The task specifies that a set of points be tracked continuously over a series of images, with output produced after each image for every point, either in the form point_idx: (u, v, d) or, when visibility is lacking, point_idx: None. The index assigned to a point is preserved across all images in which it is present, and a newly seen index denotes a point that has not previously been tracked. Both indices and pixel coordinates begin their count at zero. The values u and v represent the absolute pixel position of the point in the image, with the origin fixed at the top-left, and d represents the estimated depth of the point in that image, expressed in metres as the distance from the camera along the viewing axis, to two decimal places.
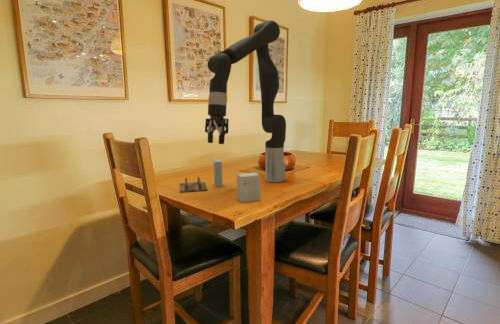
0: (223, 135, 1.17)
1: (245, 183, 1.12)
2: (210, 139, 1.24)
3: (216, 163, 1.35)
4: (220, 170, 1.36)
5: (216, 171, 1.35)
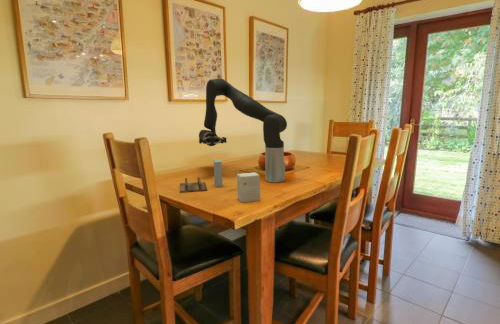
0: (202, 141, 1.49)
1: (245, 183, 1.12)
2: (221, 141, 1.49)
3: (216, 163, 1.35)
4: (220, 170, 1.36)
5: (216, 171, 1.35)
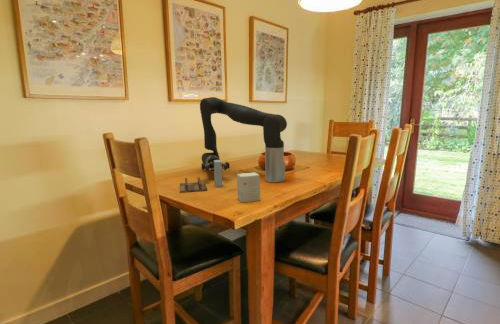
0: (205, 167, 1.45)
1: (245, 183, 1.12)
2: (224, 167, 1.45)
3: (216, 163, 1.35)
4: (220, 170, 1.36)
5: (216, 171, 1.35)
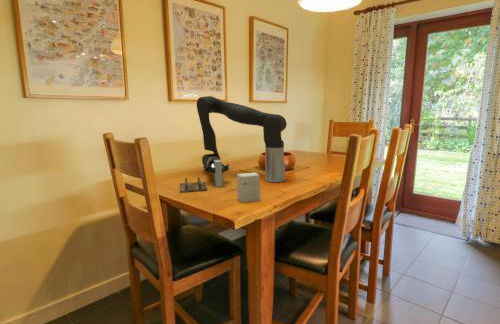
0: (211, 169, 1.39)
1: (245, 183, 1.12)
2: None
3: (216, 163, 1.35)
4: (220, 170, 1.36)
5: (216, 171, 1.35)
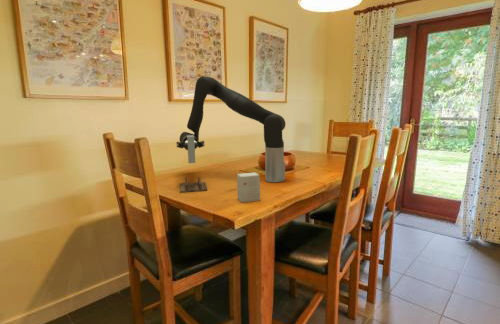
0: (184, 145, 1.33)
1: (245, 183, 1.12)
2: None
3: (188, 138, 1.29)
4: (193, 145, 1.30)
5: (188, 146, 1.30)
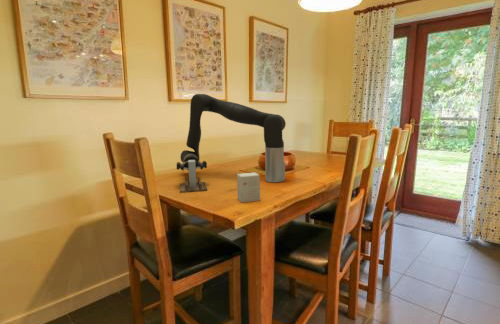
0: (180, 166, 1.35)
1: (245, 183, 1.12)
2: (200, 166, 1.35)
3: (190, 163, 1.31)
4: (194, 170, 1.32)
5: (190, 171, 1.32)
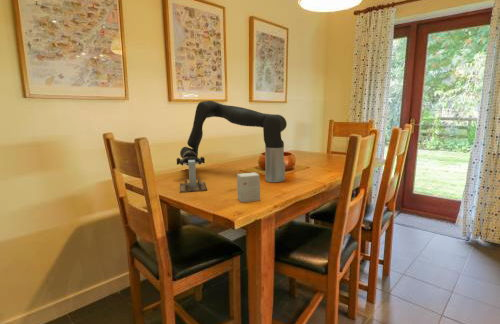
0: (180, 162, 1.48)
1: (245, 183, 1.12)
2: (198, 162, 1.48)
3: (190, 163, 1.31)
4: (194, 170, 1.32)
5: (190, 171, 1.32)
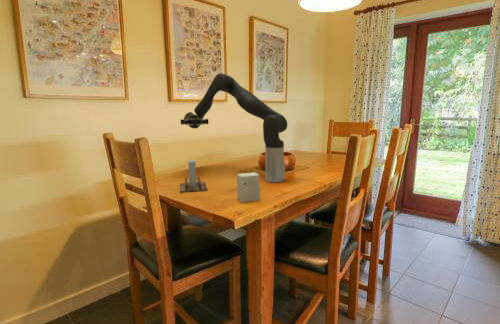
0: (184, 121, 1.48)
1: (245, 183, 1.12)
2: (202, 121, 1.48)
3: (190, 163, 1.31)
4: (194, 170, 1.32)
5: (190, 171, 1.32)
